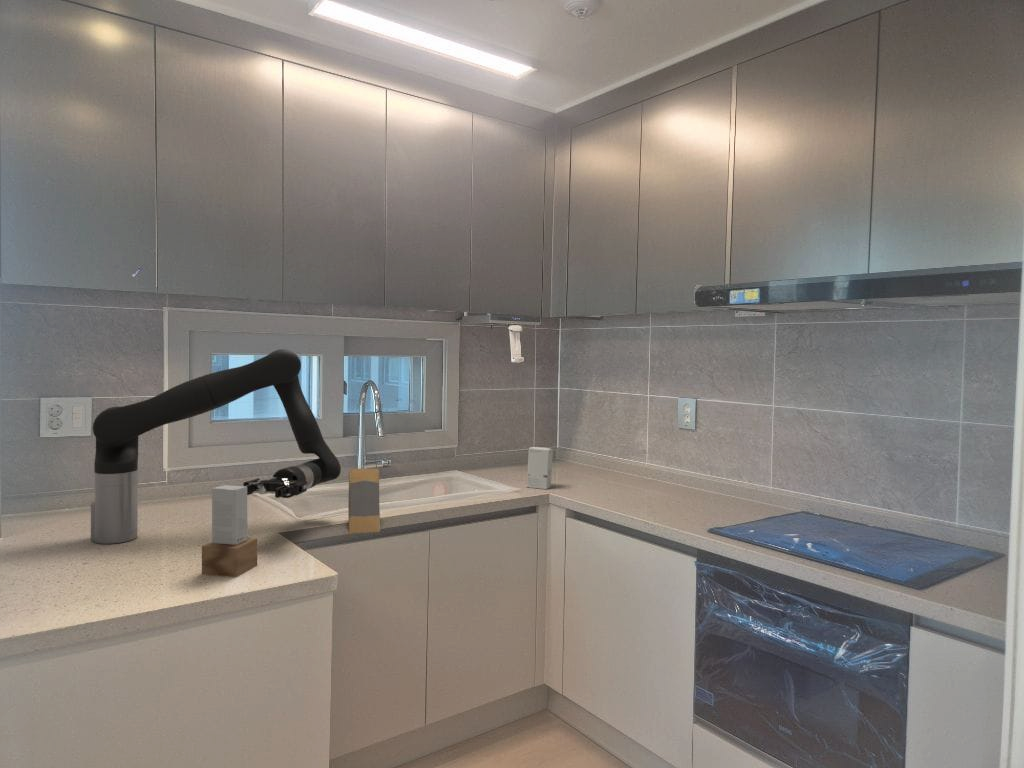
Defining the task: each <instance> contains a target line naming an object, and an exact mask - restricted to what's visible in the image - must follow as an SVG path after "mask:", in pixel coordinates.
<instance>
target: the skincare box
mask: <svg viewBox="0 0 1024 768" xmlns="http://www.w3.org/2000/svg"><path fill="white" fill-rule="evenodd" d="M247 538H248V495H247V487H246V486H243V485H242V486H241V485H240V486H239V485H227V484H223V485H220V486H217V487H212V488H211V542H212V543H216V544H228V545H237V544H239V543H242V542H244V541H247Z"/></svg>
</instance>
